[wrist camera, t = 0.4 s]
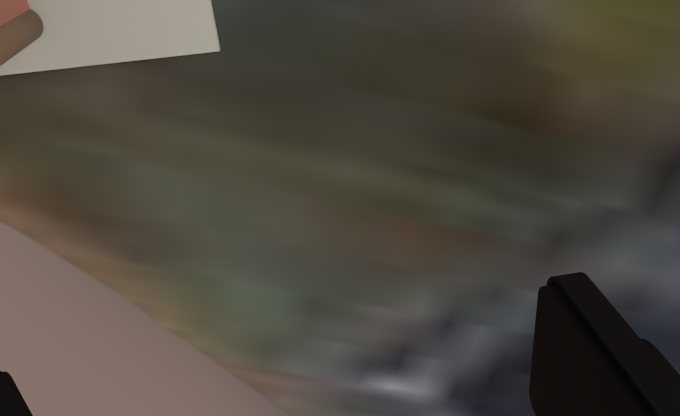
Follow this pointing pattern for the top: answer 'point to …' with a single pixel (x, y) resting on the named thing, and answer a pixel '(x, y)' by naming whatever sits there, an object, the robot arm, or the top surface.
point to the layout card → (115, 33)
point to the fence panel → (17, 27)
